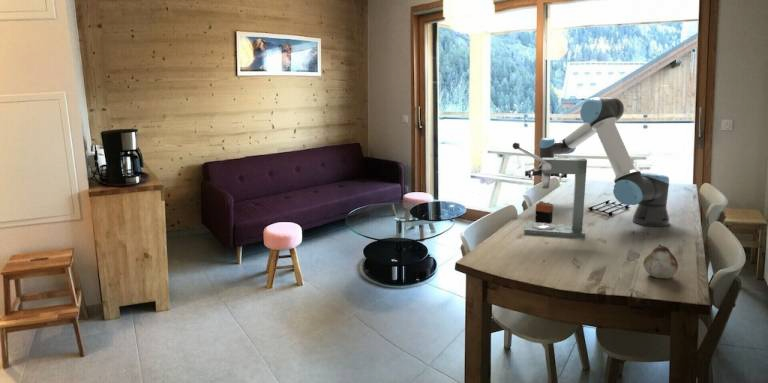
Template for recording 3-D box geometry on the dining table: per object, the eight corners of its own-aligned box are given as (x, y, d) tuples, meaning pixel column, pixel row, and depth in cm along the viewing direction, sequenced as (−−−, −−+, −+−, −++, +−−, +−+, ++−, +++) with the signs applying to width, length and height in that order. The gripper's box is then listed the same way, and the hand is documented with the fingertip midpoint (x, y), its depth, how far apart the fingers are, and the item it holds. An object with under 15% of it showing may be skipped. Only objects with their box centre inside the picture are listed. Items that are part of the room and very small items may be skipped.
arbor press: (582, 229, 221) (588, 140, 213) (584, 238, 209) (591, 144, 200) (511, 224, 231) (514, 139, 223) (509, 233, 218) (512, 142, 210)
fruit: (643, 279, 164) (646, 245, 162) (640, 269, 173) (643, 237, 170) (678, 283, 161) (682, 248, 158) (673, 273, 169) (677, 240, 167)
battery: (538, 220, 238) (539, 200, 236) (552, 222, 234) (553, 202, 231) (534, 222, 235) (535, 201, 233) (548, 224, 230) (549, 203, 228)
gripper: (570, 177, 257) (572, 185, 238) (521, 175, 265) (519, 183, 245) (571, 163, 256) (573, 170, 236) (521, 162, 263) (519, 168, 244)
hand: (545, 177), depth 241 cm, fingers open, 13 cm apart
